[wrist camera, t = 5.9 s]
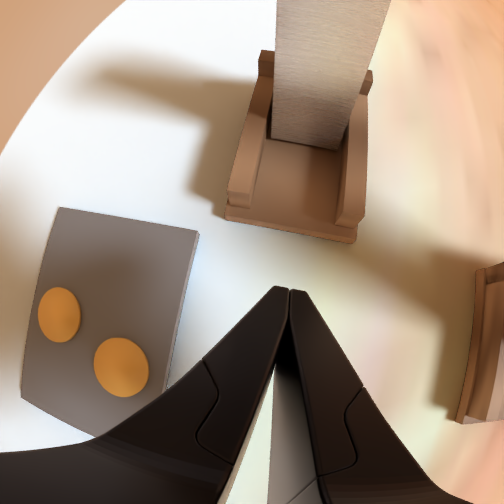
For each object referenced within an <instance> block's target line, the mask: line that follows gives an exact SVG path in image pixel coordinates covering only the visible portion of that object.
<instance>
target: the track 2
mask: <svg viewBox="0 0 504 504" xmlns="http://www.w3.org/2000/svg"><path fill="white" fill-rule="evenodd" d="M497 420H504V262H503V263H500V264H498V265H495V266H492V267H489V268H487V269H485V268H483V269H480V270H477V271H476V291H475V307H474V319H473V329H472V337H471V345H470V352H469V359H468V365H467V371H466V376H465V381H464V386H463V391H462V396H461V400H460V404H459V408H458V412H457V416H456V420H455V422H457V423H460V424H472V423H481V422H490V421H497Z"/></svg>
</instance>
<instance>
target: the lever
mask: <svg viewBox="0 0 504 504" xmlns="http://www.w3.org/2000/svg"><path fill="white" fill-rule="evenodd" d="M390 2H391V0H277V11H276V38H275V64H274V87H273V109H272V130H271V138H274V139H280V140H286V141H291V142H297V143H302V144H307V145H313V146H318V147H322V148H327V149H332V150H337V149H338V147H339V144H340V142H341V139H342V136H343V134H344V131H345V129H346V126H347V124H348V121H349V118H350V116H351V113H352V110H353V108H354V105H355V102H356V100H357V97H358V94H359V92H360V89H361V86H362V83H363V81H364V78H365V75H366V72H367V70H368V67H369V64H370V61H371V58H372V56H373V53H374V50H375V47H376V44H377V41H378V38H379V35H380V32H381V29H382V26H383V23H384V20H385V17H386V14H387V11H388V8H389V5H390Z"/></svg>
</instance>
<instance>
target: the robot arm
mask: <svg viewBox="0 0 504 504" xmlns="http://www.w3.org/2000/svg"><path fill="white" fill-rule="evenodd" d="M274 367H275V369H274ZM273 370H274V384H273V408H272V429H271V449H270V467H269V484H268V499H267V504H473V503H470V502H468V501H465V500H463V499H460V498H458V497H455V496H453V495H451V494H448V493H447V492H445V491H443V490H442V489H441V488H439V487H438V486H437V485H436V484H435V483H434V482H433V481H432V480H431V479H430V478H429V477H428V476H427V475H426V473H425V472H424V471H423V469H422V468H421V467H420V465H419V464H418V463H417V461H416V460H415V459H414V458H413V456H412V455H411V454H410V452H409V451H408V450H407V448H406V447H405V446H404V444H403V443H402V442H401V440H400V439H399V438H398V436H397V435H396V434H395V432H394V431H393V430H392V428H391V427H390V425H389V424H388V423H387V421H386V420H385V418H384V417H383V415H382V414H381V412H380V411H379V409H378V407H377V406H376V404H375V403H374V401H373V400H372V398H371V396H370V395H369V393H368V391H367V390H366V388H365V387H363V383H362V381H361V380H360V378H359V376H358V375H357V373H356V372H355V370H354V368H353V367H352V365H351V363H350V362H349V360H348V358H347V357H346V355H345V353H344V352H343V350H342V348H341V347H340V345H339V344H338V342H337V340H336V339H335V337H334V335H333V334H332V332H331V331H330V329H329V327H328V326H327V324H326V322H325V321H324V319H323V318H322V316H321V314H320V313H319V311H318V310H317V308H316V306H315V305H314V303H313V302H312V300H311V298H310V297H309V295H308V294H307V292H305V291H302V290H296V289H291V290H290V291H289V289H288V288H285V287H280V286H273V287H272V288H271V289H270V290H269V291H268V292H267V293H266V294H265V295H264V296H263V297H262V298H261V299H260V300H259V301H258V302H257V303H256V304H255V305H254V307H253V308H252V309H251V310H250V311H249V312H248V313H247V314H246V315H245V316H244V317H243V318H242V319H241V320H240V321H239V322H238V323H237V324H236V325H235V326H234V327H233V328H232V329H231V330H230V331H229V332H228V333H227V334H226V335H225V336H224V337H223V338H222V339H221V340H220V341H219V342H218V343H217V344H216V345H215V346H214V347H213V348H212V349H211V350H210V351H209V352H208V353H207V354H206V355H205V356H204V357H203V358H202V360H200V361H199V362H198V363H197V364H196V365H195V366H194V367H193V368H192V369H191V370H190V371H188V372H187V373H186V374H185V375H184V376H183V377H182V378H181V379H180V380H178V381H177V382H176V383H175V384H174V385H173V386H171V387H170V388H169V389H167V390H166V391H165V392H163V393H162V394H161V395H160V396H158V397H157V398H156V399H154V400H153V401H151V402H150V403H148V404H147V405H146V406H144V407H143V408H141V409H140V410H138V411H137V412H135V413H134V414H133V415H131V416H130V417H128V418H127V419H125V420H124V421H122V422H121V423H119V424H118V425H116V426H115V427H113V428H112V429H110V430H109V431H107V432H105V433H104V434H102V435H100V436H98V437H96V438H93V439H91V440H89V441H85V442H82V443H78V444H73V445H67V446H60V447H53V448H45V449H37V450H27V451H16V452H1V453H0V504H225V503H226V501H227V498H228V496H229V493H230V491H231V488H232V486H233V483H234V481H235V478H236V476H237V473H238V470H239V468H240V465H241V462H242V460H243V457H244V454H245V452H246V449H247V446H248V444H249V441H250V438H251V435H252V433H253V430H254V427H255V424H256V421H257V418H258V416H259V413H260V410H261V407H262V404H263V401H264V398H265V395H266V392H267V389H268V386H269V383H270V380H271V377H272V374H273Z"/></svg>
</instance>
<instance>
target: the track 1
mask: <svg viewBox="0 0 504 504" xmlns="http://www.w3.org/2000/svg"><path fill="white" fill-rule="evenodd" d="M274 64H275V51H267V50H261V53H260V56H259V59H258V79H257V82H256V85H255V89H254V92H253V96H252V99H251V103H250V106H249V110H248V113H247V117H246V120H245V124H244V127H243V131H242V135H241V138H240V142H239V146H238V149H237V153H236V157H235V160H234V164H233V168H232V172H231V176H230V179H229V183H228V187H227V194H228V201H227V205H226V209H225V213H224V216H225V219H226V220H228V221H234V222H239V223H245V224H250V225H256V226H262V227H267V228H272V229H278V230H283V231H288V232H294V233H299V234H304V235H309V236H315V237H320V238H325V239H330V240H335V241H340V242H345V243H350V244H352V243H353V242H354V241H355V240H356V236H357V226H358V223H359V222H360V221H361V220H362V219H363V217H364V215H365V200H366V182H367V153H368V102H367V96H368V93H369V91H370V88H371V86H372V83H373V75H372V71H371V70H367V72H366V75H365V78H364V81H363V83H362V86H361V89H360V92H359V94H358V97H357V100H356V102H355V105H354V108H353V110H352V113H351V116H350V118H349V121H348V124H347V126H346V129H345V131H344V134H343V136H342V139H341V142H340V144H339V147H338V149H337V150H332V149H327V148H322V147H318V146H313V145H307V144H302V143H297V142H291V141H286V140H280V139H274V138H271V130H272V109H273V87H274Z"/></svg>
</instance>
